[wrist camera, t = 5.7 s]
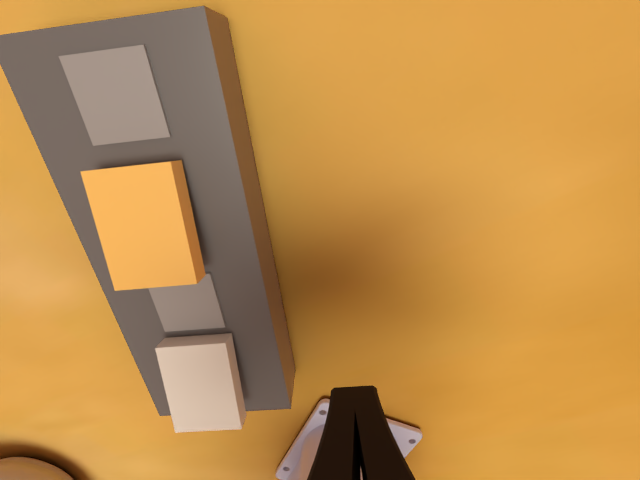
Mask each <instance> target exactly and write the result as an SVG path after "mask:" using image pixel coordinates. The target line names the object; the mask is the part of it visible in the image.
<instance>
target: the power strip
mask: <svg viewBox="0 0 640 480" xmlns="http://www.w3.org/2000/svg"><path fill="white" fill-rule="evenodd" d="M0 64H1V67H2V69H3V71H4V73H5V75H6V78H7V80H8V82H9V84H10V86H11V89H12V91H13V93H14V95H15V97H16V100H17V102H18V104H19V106H20V108H21V111H22V113H23V115H24V117H25V119H26V122H27V124H28V126H29V128H30V130H31V133H32V135H33V137H34V139H35V141H36V144H37V146H38V148H39V150H40V153H41V155H42V157H43V159H44V161H45V164H46V166H47V168H48V170H49V172H50V175H51V177H52V179H53V181H54V183H55V186H56V188H57V190H58V192H59V194H60V197H61V199H62V201H63V203H64V205H65V208H66V210H67V212H68V214H69V216H70V219H71V221H72V223H73V225H74V227H75V230H76V232H77V234H78V236H79V238H80V241H81V243H82V245H83V247H84V249H85V252H86V254H87V256H88V258H89V261H90V263H91V265H92V267H93V269H94V272H95V274H96V276H97V278H98V280H99V283H100V285H101V287H102V289H103V291H104V294H105V296H106V298H107V300H108V302H109V305H110V307H111V309H112V311H113V313H114V316H115V318H116V320H117V322H118V324H119V327H120V329H121V331H122V333H123V335H124V338H125V340H126V342H127V344H128V346H129V349H130V351H131V353H132V355H133V357H134V360H135V362H136V364H137V366H138V369H139V371H140V373H141V375H142V377H143V380H144V382H145V384H146V386H147V388H148V391H149V393H150V395H151V397H152V399H153V402H154V404H155V406H156V408H157V410H158V413H159V415H160V416H168V415H171V413H170V409H169V404H168V400H167V396H166V392H165V388H164V384H163V379H162V375H161V371H160V367H159V363H158V359H157V354H156V350H155V348H156V347H157V345H158V344H159V343H160V342H161V341H162V340H163V339H164V338H170V337H183V336H197V335H211V334H225V333H232V338H233V344H234V349H235V355H236V360H237V366H238V371H239V377H240V382H241V388H242V393H243V399H244V404H245V410H246V411H257V410H275V409H291V403H292V395H293V386H294V377H295V365H294V359H293V354H292V349H291V344H290V339H289V334H288V329H287V323H286V318H285V313H284V308H283V303H282V298H281V292H280V287H279V282H278V277H277V272H276V267H275V262H274V256H273V251H272V246H271V241H270V236H269V231H268V225H267V220H266V215H265V210H264V205H263V200H262V195H261V189H260V184H259V179H258V174H257V169H256V164H255V158H254V153H253V148H252V143H251V138H250V133H249V128H248V122H247V117H246V112H245V107H244V102H243V97H242V91H241V86H240V81H239V76H238V71H237V66H236V61H235V55H234V50H233V45H232V40H231V35H230V30H229V24H228V19H227V17H225V16H223V15H221V14H219V13H217V12H215V11H213V10H211V9H209V8H207V7H205V6H200V7H193V8H186V9H179V10H172V11H165V12H158V13H151V14H144V15H137V16H130V17H123V18H116V19H109V20H102V21H95V22H88V23H81V24H74V25H67V26H60V27H53V28H46V29H39V30H32V31H25V32H18V33H11V34H4V35H0ZM177 160H182V164H183V169H184V174H185V178H186V183H187V188H188V193H189V197H190V202H191V207H192V212H193V217H194V221H195V226H196V231H197V236H198V240H199V245H200V250H201V255H202V259H203V264H204V269H205V274H206V275H205V276H204V277H203V278H202V279H201V281H200V282H199V283H198V284H191V285H179V286H167V287H155V288H143V289H131V290H120V291H115V290H114V286H113V283H112V280H111V276H110V273H109V269H108V266H107V262H106V259H105V255H104V252H103V248H102V245H101V242H100V238H99V235H98V231H97V228H96V224H95V221H94V217H93V214H92V210H91V207H90V204H89V200H88V197H87V193H86V190H85V186H84V183H83V179H82V176H81V172H80V171H88V170H96V169H105V168H114V167H123V166H132V165H141V164H150V163H159V162H168V161H177Z"/></svg>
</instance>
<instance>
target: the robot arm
mask: <svg viewBox="0 0 640 480" xmlns="http://www.w3.org/2000/svg"><path fill="white" fill-rule="evenodd" d="M421 439H422V432H421V430H420V429H418V428H415V427H412V426H409V425H406V424H403V423H400V422H397V421H394V420H391V419H388V418H386V417H385V415H384V412H383V409H382V406H381V403H380V400H379V397H378V393H377V389H376V388H375V387H374V386H358V387H341V388H334V389H332V390H331V396H330V399H322V400H320V401H319V403H318V405H317V406H316V408H315V409H314V411H313V412H312V414H311V416H310V417H309V419H308V420H307V422H306V424H305V425H304V427H303V428H302V430H301V432H300V433H299V435H298V436H297V438H296V439H295V441H294V443H293V444H292V446H291V447H290V449H289V451H288V452H287V454H286V455H285V457H284V459H283V460H282V462H281V463H280V465H279V467H278V468H277V470H276V477H277V478H278V479H281V480H415V478H414V476H413V474H412V472H411V471H410V469H409V467H408V465H407V463H406V461H405V459H404V458H405V457H406V456H407V455H408V454H409V452H410V451H411V450H412V449H413V448H414V447H415V446H416V444H417V443H418V442H419V441H420V440H421Z"/></svg>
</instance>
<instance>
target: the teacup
mask: <svg viewBox="0 0 640 480" xmlns="http://www.w3.org/2000/svg"><path fill="white" fill-rule="evenodd" d="M0 480H74V479H73V478H72V477H71V476H70V475H68V474H67V473H66V472H64V471H63V470H61V469H60V468H58V467H56V466H54V465H51V464H49V463H47V462H44V461H41V460H37V459H33V458H27V457H9V458H4V459H0Z"/></svg>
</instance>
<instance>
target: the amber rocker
mask: <svg viewBox="0 0 640 480" xmlns="http://www.w3.org/2000/svg"><path fill="white" fill-rule="evenodd" d="M80 172H81V176H82V179H83V183H84V186H85V190H86V193H87V197H88V200H89V204H90V207H91V210H92V214H93V217H94V221H95V224H96V228H97V231H98V235H99V238H100V242H101V245H102V248H103V252H104V255H105V259H106V262H107V266H108V269H109V273H110V276H111V280H112V283H113V286H114V290H115V291H120V290H131V289H143V288H155V287H167V286H179V285H191V284H198V283H199V282H200V281H201V279H202V278H203V277H204V276H205V275H206V274H205V269H204V264H203V259H202V255H201V250H200V245H199V240H198V236H197V231H196V226H195V221H194V217H193V212H192V207H191V202H190V197H189V193H188V188H187V183H186V178H185V174H184V169H183V164H182V160H177V161H168V162H159V163H150V164H141V165H132V166H123V167H114V168H105V169H96V170H88V171H80Z"/></svg>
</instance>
